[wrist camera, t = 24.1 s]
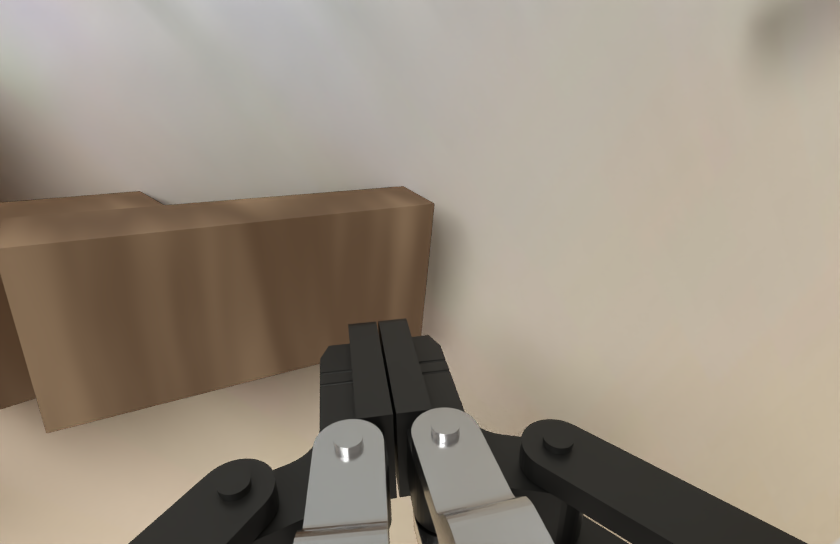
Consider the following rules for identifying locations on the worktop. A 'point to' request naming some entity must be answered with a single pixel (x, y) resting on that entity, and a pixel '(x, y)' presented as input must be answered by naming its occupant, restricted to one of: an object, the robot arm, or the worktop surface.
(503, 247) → the worktop surface
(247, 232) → the domino
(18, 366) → the domino
